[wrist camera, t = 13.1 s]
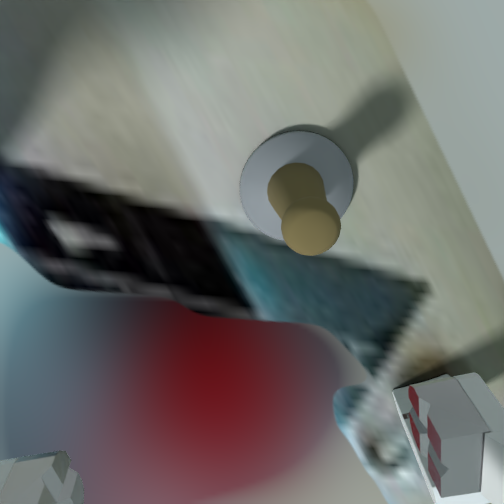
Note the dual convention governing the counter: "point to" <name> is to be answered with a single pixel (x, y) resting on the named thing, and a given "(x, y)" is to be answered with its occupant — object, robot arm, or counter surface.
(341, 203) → the coaster
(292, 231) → the cork
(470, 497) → the skincare box
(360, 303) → the counter surface
